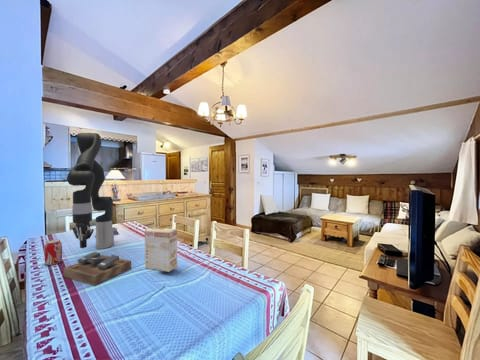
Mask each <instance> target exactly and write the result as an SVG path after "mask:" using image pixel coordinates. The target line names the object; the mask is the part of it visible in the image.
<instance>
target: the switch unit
mask: <svg viewBox="0 0 480 360" xmlns="http://www.w3.org/2000/svg"><path fill="white" fill-rule="evenodd" d="M100 255H101V256H99V257H108V258H109V257H110V256H111V255H110V256H109V255H105V254H100ZM99 263H101V262H99ZM99 263H90V262H87V263H85V264H82V263H78V262H77V263H74V264H71V265H69V266H65V267H64V268H63V277H65V278H68V279H71V280H74V281H76V282H80V283H83V284H87V285H91V286H97V285H100V284H102V283H103V282H106V281H108V280H110V279H112V278H115V277H116V276H119V275H121V274H123V273H125V272H127V271H129V270H131V269H132V260H129V259H124V258H120V259H119V260H117V261H116V262H115V263H113V264H112V265H110V266H109V267H107V268H106V269H104V270H103V269H99V268H98V267H97V265H98V264H99Z"/></svg>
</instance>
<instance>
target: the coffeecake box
mask: <svg viewBox="0 0 480 360" xmlns="http://www.w3.org/2000/svg"><path fill="white" fill-rule="evenodd" d="M144 267H145V269H150V270H157V271H162V272H168V273H170V272H171V271H172V270H174V269H176V268H177V267H178V228H167V227H166V228H165V227H156V226H154V227H150V228H148V229H144Z"/></svg>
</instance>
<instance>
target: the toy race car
mask: <svg viewBox="0 0 480 360" xmlns="http://www.w3.org/2000/svg"><path fill="white" fill-rule="evenodd" d="M112 231H114V236H117V235H119V234H120V233H119V231H118V229H117V227H113V226H112ZM94 238H96V235H95V236H94Z"/></svg>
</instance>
